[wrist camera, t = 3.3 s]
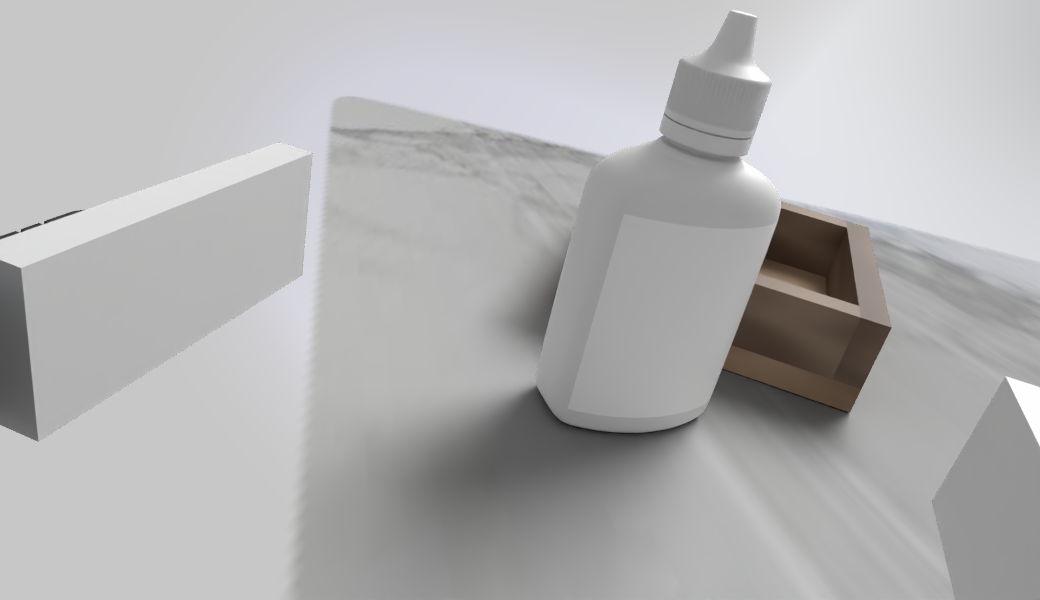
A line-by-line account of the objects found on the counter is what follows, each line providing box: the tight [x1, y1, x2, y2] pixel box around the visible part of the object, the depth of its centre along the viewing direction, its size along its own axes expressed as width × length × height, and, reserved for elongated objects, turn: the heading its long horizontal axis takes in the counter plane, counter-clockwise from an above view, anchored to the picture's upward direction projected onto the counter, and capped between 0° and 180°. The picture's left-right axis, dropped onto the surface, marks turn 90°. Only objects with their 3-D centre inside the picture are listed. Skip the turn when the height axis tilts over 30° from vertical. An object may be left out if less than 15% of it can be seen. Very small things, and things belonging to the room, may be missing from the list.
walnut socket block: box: [722, 202, 892, 413], centre depth 32 cm, size 11×11×4 cm
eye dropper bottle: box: [535, 10, 781, 433], centre depth 22 cm, size 4×6×12 cm
